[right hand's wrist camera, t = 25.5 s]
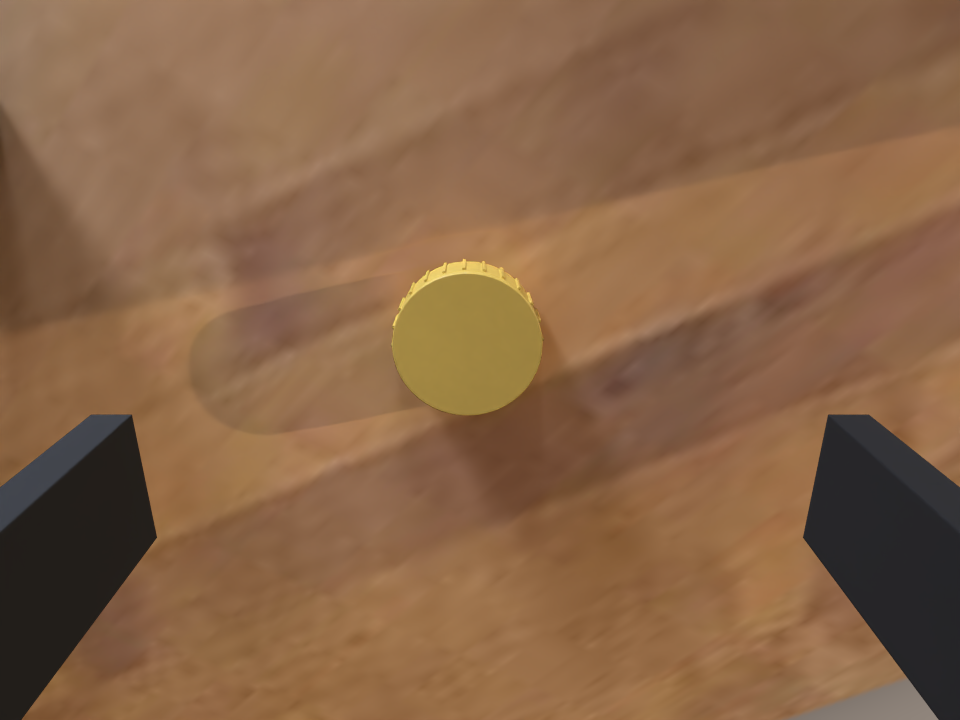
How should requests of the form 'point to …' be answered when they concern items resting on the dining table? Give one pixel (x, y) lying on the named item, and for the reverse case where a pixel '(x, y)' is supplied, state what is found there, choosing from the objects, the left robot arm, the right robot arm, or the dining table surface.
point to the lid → (467, 338)
